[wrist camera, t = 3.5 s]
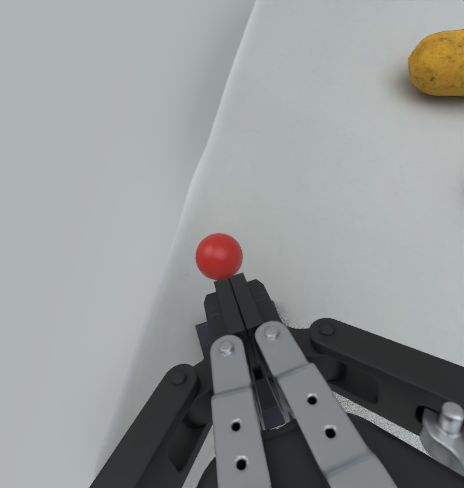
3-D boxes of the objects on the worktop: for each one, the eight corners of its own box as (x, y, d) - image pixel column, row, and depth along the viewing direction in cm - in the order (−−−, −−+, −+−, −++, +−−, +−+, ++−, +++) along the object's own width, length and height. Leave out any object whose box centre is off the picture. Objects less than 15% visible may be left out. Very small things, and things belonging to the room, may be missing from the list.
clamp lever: (189, 236, 22) (189, 248, 19) (232, 223, 22) (239, 233, 19) (239, 391, 26) (246, 421, 23) (275, 379, 26) (287, 407, 23)
